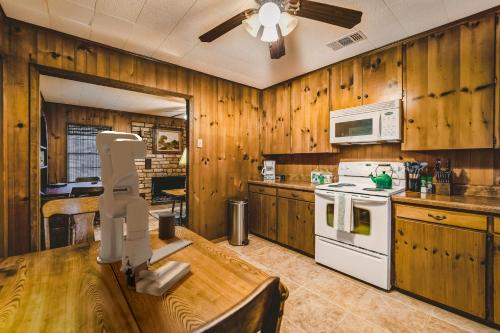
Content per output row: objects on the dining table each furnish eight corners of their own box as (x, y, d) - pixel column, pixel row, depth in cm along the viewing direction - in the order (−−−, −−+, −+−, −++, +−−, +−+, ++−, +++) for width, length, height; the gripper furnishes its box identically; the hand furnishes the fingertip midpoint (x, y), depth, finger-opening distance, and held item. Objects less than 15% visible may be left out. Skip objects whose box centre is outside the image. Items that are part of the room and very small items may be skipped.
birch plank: (136, 291, 84) (136, 283, 84) (170, 267, 104) (170, 260, 103) (159, 296, 82) (159, 287, 81) (190, 270, 101) (190, 263, 101)
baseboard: (131, 261, 111) (151, 266, 106) (131, 255, 111) (151, 259, 106) (176, 240, 139) (193, 243, 135) (176, 236, 139) (193, 238, 134)
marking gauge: (128, 288, 85) (128, 266, 85) (140, 280, 91) (140, 260, 91) (151, 293, 83) (151, 270, 82) (162, 284, 88) (162, 263, 88)
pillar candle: (165, 240, 138) (165, 214, 138) (154, 237, 143) (155, 212, 143) (178, 236, 146) (178, 212, 146) (168, 233, 151) (168, 210, 151)
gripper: (145, 226, 97) (145, 269, 97) (109, 239, 80) (110, 292, 81) (161, 228, 95) (161, 272, 95) (127, 242, 78) (127, 295, 79)
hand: (137, 280), depth 88 cm, fingers closed on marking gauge, 6 cm apart
